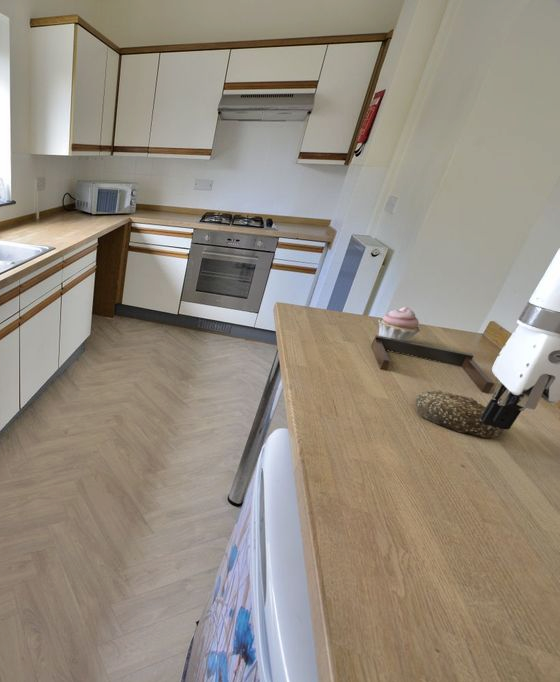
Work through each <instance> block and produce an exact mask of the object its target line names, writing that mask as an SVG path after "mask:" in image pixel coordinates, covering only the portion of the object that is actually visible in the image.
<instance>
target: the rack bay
mask: <svg viewBox="0 0 560 682" xmlns="http://www.w3.org/2000/svg"><path fill="white" fill-rule="evenodd" d="M371 345H372V347H371V349H372V348H373V349H372V352H373V351H374V352H373V354H374V353H375V354H374V357H375V356H376V357H375V359H376V362H377V361H378V362H377V364H379V365H378V367H379V369H380V370H382V369H383V370H382V371H387V369H388V368H389V365H390V364H391V359H390V357H389V355H388V353H387V351H385V350H389V351H393V352H392V353H394V352H399V353H404V354H409V355H413V356H417V357H416V358H418V357H422V358H421V359H423V358H427V359H426V360H428V359H431V360H430V361H433V360H436V361H435V362H438V361H440V362H439V363H442V362H443V364H447V363H448V365H452V364H453V365H454V366H457V365H458V367H461V366H462V367H461V368H462V370H463V371H465V373H466V374H467V376H468V377H469V378H470V380H471V381H473V383H474V384H475V385H476V387H477V388H478V389H479V390H480V392H482V393H485V394H489V393H490V392H491V390H492V388H493V387H494V385H495V382H494V381H493V380H492V379H491V378H490V376H488V375H487V373H486V372H485V371H484V370H483V369H482V368H481V366H480V365H478V363H477V362H476V361H475V360H474V355H473V354H472V353H469V352H463V351H458V350H454V349H449V348H444V347H438V346H434V345H428V344H423V343H417V342H412V341H409V342H408V341H403V340H398V339H393V338H388V337H383V336H378V335H377V334H376V335H375V336H374V338H373V341H372V343H371ZM389 351H388V352H389ZM399 353H398V354H399ZM404 354H403V355H404ZM409 355H408V356H409ZM413 356H412V357H413ZM453 365H452V366H453Z"/></svg>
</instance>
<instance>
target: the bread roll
mask: <svg viewBox="0 0 560 682" xmlns="http://www.w3.org/2000/svg"><path fill="white" fill-rule="evenodd" d="M415 404H416V405H415V406H416V410H417V413H418V414H419V415H420V416H421V417H422V418H424V419H426V420H428V421H429V422H431V423H433V424H435V425H439V426H441V427H444V428H446V429H449V430H452V431H454V432H457V433H461V434H467V435H472V436H475V437H479V438H483V439H493V438H496V437H498V436H499V435H501V433H502V432H503V431H504V430H505V429H501V428H497V427H493V426H489V425H485V424H484V423H483V422H482V420H481V419H480V417H481V415H482V413H483V412H484V410H485V408H486V407H487V406H485V405H483V404H481V403H478V401H477V400H475V399H473V397H468V396H465V395H458V394H453V393H451V392H446V391H444V392H443V391H441V390H439V389H437V390H430V391H425V392H421V393H420V394H419V395H418V396H417V397H416V402H415Z"/></svg>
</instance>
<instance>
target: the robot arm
mask: <svg viewBox="0 0 560 682" xmlns="http://www.w3.org/2000/svg"><path fill="white" fill-rule="evenodd" d="M520 313H521V314H519V317H518V318H517V320H516V324H517V325H518V326H517V327H516V328H515V330H514V331H513V332H512V334H511V335H510V336H509V338H508V339H507V341H506V342H505V344H504V345H503V347H502V348H501V350H500V352H499V354H498V355H497V357H496V358H495V361H494V363H493V366H492V368H491V371H492V374H493V375H494V376H495V380H496V386H495V388H494V390H493V392H492V394H491V398H490V400H489V402H487V405H486V406H485V407H486V408H485V410H484V412H483V413H482V415H481V417H480V419H481V420H482V422H483V423H484V424H485V425H489V426H493V427H497V428H501V429H504V430H506V431H508V430H510V429H511V427H512V426H513V425H514V423H515V422H516V420H517V419H518V417H519V415H520V414H521V413H522V412H523V411H525V410H526V409H528V410H535V409H537V407H538V405H539V402H540V400H541V398H542V399H543V400H544V401H545V402H547V403H548V404H556V403H559V401H560V247H559V248H558V249H557V252H556V253H555V254H554V257H553V258H552V260H551V262H550V263H549V266H548V267H547V268H546V271H545V272H544V274H543V276H542V277H541V279H540V281H539V282H538V285H537V286H536V288H535V289H534V290H533V293H532V294H531V296H530V298H529V300H528V301H527V303H526V305H525V307H524V308H523V310H522V312H520Z"/></svg>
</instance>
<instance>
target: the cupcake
mask: <svg viewBox="0 0 560 682" xmlns="http://www.w3.org/2000/svg"><path fill="white" fill-rule="evenodd" d="M377 320H378V326H379V328H378V335H377V336H383V337H388V338H393V339H398V340H403V341H408V342H410V341H411V340H412V338H413V337H415V335H417V334H418V333H420V332H421V329H420V327H419V319H418V318H417V317H416V313H415V312H414V311H413V310H412V309H411V308H409V307H407V306H404V307H401V308H399V309H393V310H390V311H388V312H387V313H386V314H385V315H384V316H382V318H381V319H379V318H378V319H377Z"/></svg>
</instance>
